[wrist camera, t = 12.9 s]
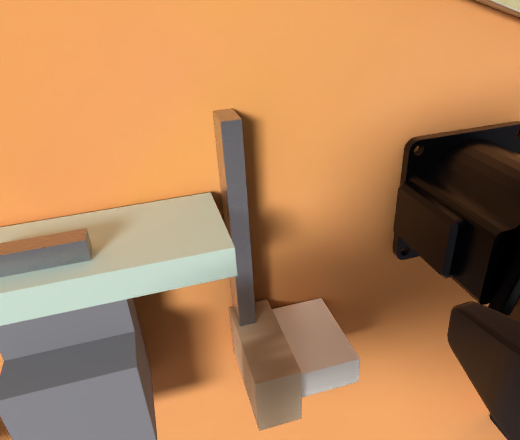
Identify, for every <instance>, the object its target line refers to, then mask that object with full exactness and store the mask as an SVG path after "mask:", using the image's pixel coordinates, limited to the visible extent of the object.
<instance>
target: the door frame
mask: <svg viewBox="0 0 520 440" xmlns="http://www.w3.org/2000/svg"><path fill="white" fill-rule="evenodd" d="M213 117H214V127H215V137H216V147H217V156H218V166H219V176H220V186H221V195H222V205H223V215H224V224H225V226H226V229H227V231H228V233H229V235H230V238H231V240H232V242H233V244H234V247H235V255H236V266H237V276H234V277H230V283H231V293H232V302H233V307H229V312H230V321H231V330H232V339H233V349H234V353H235V356H236V359H237V362H238V366H239V369H240V372H241V375H242V378H243V381H244V385H245V388H246V391H247V394H248V397H249V400H250V403H251V407H252V410H253V413H254V416H255V419H256V422H257V425H258V429H259V431H260V430H264V429H267V428H271V427H274V426H277V425H281V424H284V423H288V422H291V421H295V420H298V419H302V397H305V396H309V395H312V394H316V393H319V392H323V391H327V390H330V389H334V388H337V387H341V386H344V385H348V384H352V383H355V382H358V377H359V365H360V358H359V356H358V355H357V353H356V352H355V350H354V349H353V347H352V345H351V344H350V342H349V341H348V339H347V338H346V336H345V334H344V333H343V331H342V330H341V328H340V327H339V325H338V323H337V322H336V320H335V319H334V317H333V316H332V314H331V312H330V311H329V309H328V308H327V306H326V304H325V303H324V301H323V300H322V298H318V299H314V300H310V301H305V302H301V303H297V304H292V305H288V306H284V307H279V308H275V309H272V308H271V306H270V304H269V302H268V300H267V299H265V300H260V301H256V302H255V299H254V285H253V271H252V257H251V243H250V229H249V215H248V201H247V187H246V173H245V159H244V144H243V130H242V119H241V118H240V117H239V115H238V114H237V113H236V112H235V111H234V110H233V109H225V110H217V111H213Z"/></svg>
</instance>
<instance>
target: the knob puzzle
mask: <svg viewBox="0 0 520 440" xmlns="http://www.w3.org/2000/svg"><path fill="white" fill-rule="evenodd" d="M475 1H478V2H480V3H482V4H485V5H487V6H490V7H492V8H495V9H498V10H500V11H503V12H505V13H508V14H511V15H514V16H516V17H519V18H520V0H475Z"/></svg>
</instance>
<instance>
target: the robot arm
mask: <svg viewBox="0 0 520 440" xmlns="http://www.w3.org/2000/svg"><path fill="white" fill-rule="evenodd" d="M517 132H518V133H517ZM516 133H517V134H516ZM417 146H419V148H418V150H417V151H416V152H414V149H415V148H416V147H417ZM403 248H405V249H404V250H403V251H402V249H403ZM393 253H394V255H395V256H396V257H397V258H398V259H401V260H405V259H409V258H414V257H418V256H421V257H422V258H423V259H424V260H425V261H426V262H427V263H428V264H429V265H430V266H431V267H432V268H433V269H435V270H436V271H437V272H438V273H439V274H440V275H441V276H442V277H444V278H445V279H446V278H450V277H451V278H452V279H453V280H455V281H456V282H457V283H458V284H459V285H460V286H461V287H462V288H463V289H464V290H466V291H467V292H468V293H469V294H470V295H471V296H472V297H473V298H474V299H475V300H477V301H478V302H479V303H480V304H479V303H476V302H466V303H463V304H459V305H456V306H454V307H453V308H452V310H451V315H450V322H449V328H448V335H447V336H448V342H449V345H450V347H451V349H452V351H453V352H454V354H455V356H456V357H457V359H458V361H459V362H460V364H461V366H462V367H463V369H464V371H465V372H466V374H467V375H468V377H469V379H470V380H471V382H472V384H473V385H474V387H475V389H476V390H477V392H478V394H479V395H480V397H481V399H482V400H483V402H484V404H485V405H486V407H487V408H488V410H489V412H490V413H491V415H492V416H493V417H494V419H495V420H496V422H497V423H498V425H499V426H500V427H501V429H502V430H503V431H504V433H505V434H506V435H507V437H508V438H509V439H510V440H520V122H518V121H516V122H509V123H503V124H496V125H490V126H484V127H477V128H471V129H464V130H458V131H452V132H445V133H439V134H432V135H426V136H420V137H414V138H412V139H410V140H409V141H408V142H407V144H406V145H405V148H404V155H403V164H402V173H401V181H400V186H399V188H398V195H397V204H396V213H395V221H394V241H393ZM488 303H490V304H489V306H488V307H486V306H483V305H484V304H488Z"/></svg>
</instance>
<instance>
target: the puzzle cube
mask: <svg viewBox="0 0 520 440" xmlns="http://www.w3.org/2000/svg"><path fill="white" fill-rule="evenodd" d="M490 419H491V420H492V421H493V423H494V424H495V425H496V426H497V428H498V429H499V430H500V431H501V432H502V434H503V435H504V436H505V437H506V438H507V440H510V439H509V438H508V437H507V435H506V434H505V433H504V431H503V430H502V429H501V427H500V426H499V425H498V423H497V422H496V420H495V419H494V417H493V416H492V415H491V413H490Z"/></svg>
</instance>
